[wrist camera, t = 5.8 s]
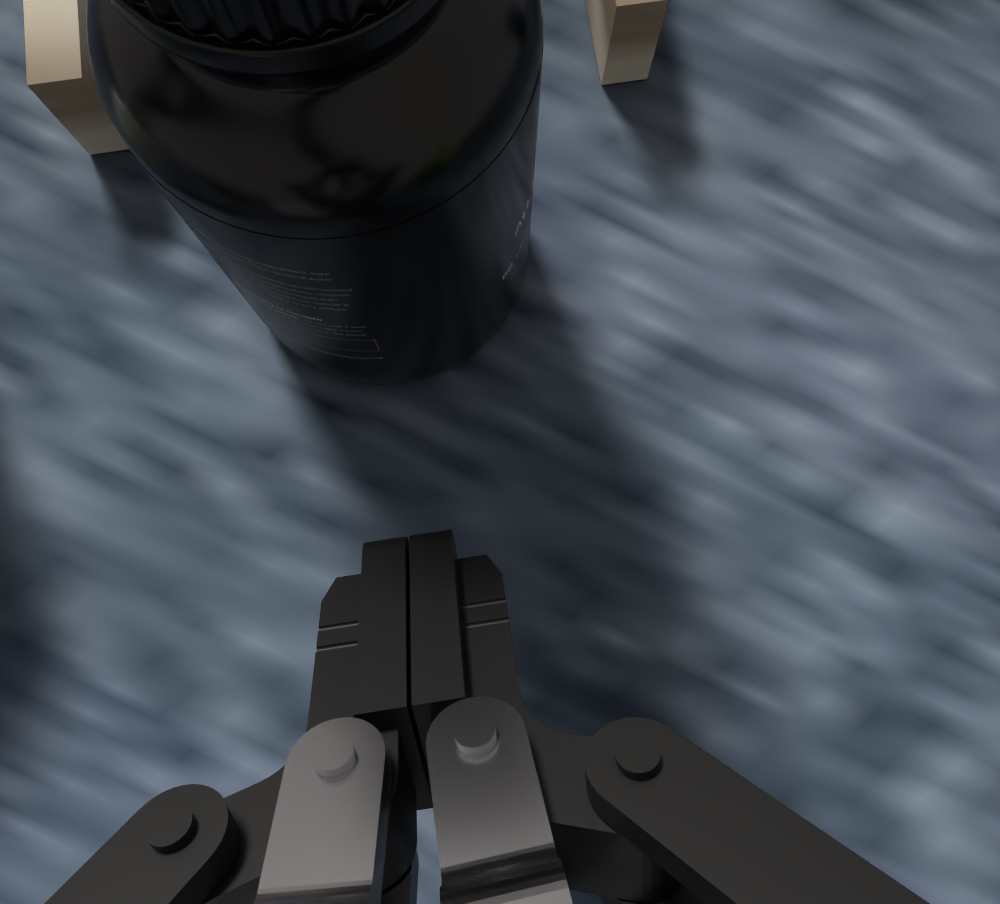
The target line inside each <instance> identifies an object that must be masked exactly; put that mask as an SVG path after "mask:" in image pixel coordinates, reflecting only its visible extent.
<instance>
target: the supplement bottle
mask: <svg viewBox="0 0 1000 904" xmlns="http://www.w3.org/2000/svg"><path fill="white" fill-rule="evenodd" d="M86 29H87V42H88V52H89V59H90V64H91V68H92V73H93V77H94V80H95V83H96V86H97V89H98V92H99V95H100V97H101V100H102V103H103V105H104V107H105V109H106V111H107V113H108V115H109V117H110V119H111V121H112V123H113V124H114V126H115V128H116V129H117V131H118V132H119V134H120V135H121V137H122V139H123V140H124V142H125V143H126V145H127V146H128V148H129V149H130V151H131V153H132V154H133V156H134V157H135V158H136V160H137V161H138V162H139V163H140V165H141V166H142V167H143V169H144V170H145V171H146V173H147V174H148V175H149V176H150V178H151V179H152V180H153V182H154V183H155V184H156V185H157V187H158V188H159V189H160V190H161V192H162V193H163V194H164V196H165V197H166V198H167V199H168V201H169V202H170V203H171V205H172V206H173V207H174V208H175V210H176V211H177V212H178V214H179V215H180V216H181V217H182V219H183V220H184V221H185V223H186V224H187V225H188V226H189V228H190V229H191V230H192V232H193V233H194V234H195V235H196V237H197V238H198V239H199V240H200V242H201V243H202V244H203V246H204V247H205V248H206V249H207V251H208V252H209V253H210V255H211V256H212V257H213V258H214V260H215V261H216V262H217V264H218V265H219V266H220V267H221V269H222V270H223V271H224V273H225V274H226V275H227V276H228V278H229V279H230V280H231V282H232V283H233V284H234V285H235V287H236V288H237V289H238V290H239V292H240V293H241V294H242V296H243V297H244V298H245V299H246V301H247V302H248V303H249V305H250V306H251V307H252V308H253V310H254V311H255V312H256V313H257V315H258V316H259V317H260V318H261V320H262V321H263V322H264V323H265V324H266V325H267V327H268V328H269V329H270V330H271V332H272V333H273V334H274V335H275V336H276V337H277V338H278V339H279V340H280V341H281V342H282V343H283V344H284V345H285V346H286V347H287V348H288V349H289V350H290V351H292V352H293V353H294V354H295V355H297V356H298V357H299V358H300V359H302V360H304V361H305V362H307V363H308V364H310V365H311V366H313V367H315V368H317V369H319V370H321V371H323V372H325V373H328V374H330V375H333V376H335V377H339V378H342V379H346V380H349V381H354V382H360V383H368V384H400V383H408V382H413V381H418V380H422V379H425V378H429V377H432V376H435V375H437V374H440V373H442V372H445V371H447V370H449V369H451V368H453V367H455V366H457V365H458V364H460V363H461V362H463V361H465V360H466V359H468V358H469V357H471V356H472V355H473V354H474V353H476V352H477V351H478V350H479V349H481V348H482V347H483V346H484V345H485V344H486V343H487V342H488V341H489V340H490V339H491V338H492V337H493V336H494V335H495V333H496V332H497V331H498V330H499V329H500V327H501V326H502V324H503V323H504V322H505V320H506V319H507V317H508V315H509V314H510V312H511V310H512V308H513V306H514V304H515V302H516V299H517V297H518V295H519V292H520V289H521V285H522V282H523V279H524V274H525V269H526V263H527V254H528V246H529V235H530V222H531V208H532V195H533V181H534V168H535V154H536V141H537V127H538V113H539V100H540V86H541V72H542V59H543V5H542V0H87V20H86Z"/></svg>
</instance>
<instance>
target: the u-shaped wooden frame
mask: <svg viewBox="0 0 1000 904" xmlns="http://www.w3.org/2000/svg"><path fill="white" fill-rule="evenodd" d="M668 2H669V0H585V3H586V8H587V13H588V18H589V23H590V28H591V33H592V39H593V44H594V49H595V54H596V59H597V64H598V69H599V74H600V80H601V85H606V84H613V83H621V82H628V81H635V80H643V79H647V78H648V74H649V71H650V67H651V63H652V60H653V56H654V52H655V49H656V45H657V42H658V38H659V34H660V31H661V27H662V24H663V20H664V16H665V13H666V9H667V5H668ZM23 5H24V27H25V49H26V71H27V85H28V87H29V88H30V89H31V90H32V91H33V92H34V93H35V94H36V95H37V97H38V98H39V99H40V100H41V101H42V102H43V103H44V104H45V105H46V107H47V108H48V109H49V110H50V111H51V112H52V113H53V114H54V115H55V117H56V118H57V119H58V120H59V121H60V122H61V123H62V124H63V125H64V127H65V128H66V129H67V130H68V131H69V132H70V133H71V134H72V135H73V137H74V138H75V139H76V140H77V141H78V142H79V143H80V144H81V145H82V147H83V148H84V149H85V150H86V151H87V152H88V153H89V154H90V155H91V154H98V153H106V152H113V151H121V150H128V149H129V148H128V146H127V145H126V143H125V142H124V140H123V139H122V137H121V135H120V134H119V132H118V131H117V129H116V128H115V126H114V124H113V123H112V121H111V119H110V117H109V115H108V113H107V111H106V109H105V107H104V105H103V103H102V100H101V97H100V95H99V92H98V89H97V86H96V83H95V80H94V77H93V73H92V68H91V64H90V59H89V52H88V42H87V29H86V20H87V0H23Z"/></svg>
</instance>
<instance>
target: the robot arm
mask: <svg viewBox="0 0 1000 904" xmlns="http://www.w3.org/2000/svg"><path fill="white" fill-rule="evenodd" d="M428 808H433V809H434V818H435V826H436V834H437V843H438V851H439V859H440V867H441V877H442V886H440V903H441V904H573V903H572V899H571V895H570V891H569V889H572V890H577V891H582V892H588V893H593V894H598V895H599V896H600V898H601V899H602V901H603V902H604V904H929V903H928V902H927V901H925V900H924V899H922V898H921V897H919V896H918V895H916V894H915V893H913V892H912V891H910V890H909V889H907V888H906V887H904V886H903V885H901V884H900V883H899V882H897V881H896V880H894V879H893V878H891V877H890V876H888V875H887V874H885V873H884V872H882V871H881V870H879V869H878V868H876V867H875V866H873V865H872V864H870V863H869V862H868V861H866V860H865V859H863V858H862V857H860V856H859V855H857V854H856V853H854V852H853V851H851V850H850V849H848V848H847V847H845V846H844V845H842V844H841V843H840V842H838V841H837V840H835V839H834V838H832V837H831V836H829V835H828V834H826V833H825V832H823V831H822V830H820V829H819V828H817V827H816V826H814V825H813V824H811V823H810V822H809V821H807V820H806V819H804V818H803V817H801V816H800V815H798V814H797V813H795V812H794V811H792V810H791V809H789V808H788V807H786V806H785V805H783V804H782V803H781V802H779V801H778V800H776V799H775V798H773V797H772V796H770V795H769V794H767V793H766V792H764V791H763V790H761V789H760V788H758V787H757V786H755V785H754V784H752V783H751V782H750V781H748V780H747V779H745V778H744V777H742V776H741V775H739V774H738V773H736V772H735V771H733V770H732V769H730V768H729V767H727V766H726V765H724V764H723V763H722V762H720V761H719V760H717V759H716V758H714V757H713V756H711V755H710V754H708V753H707V752H705V751H704V750H702V749H701V748H699V747H698V746H696V745H695V744H693V743H692V742H691V741H689V740H688V739H686V738H685V737H683V736H682V735H680V734H679V733H677V732H676V731H674V730H673V729H671V728H670V727H668V726H666V725H665V724H663V723H661V722H658V721H656V720H652V719H648V718H642V717H627V718H622V719H618V720H615V721H612V722H610V723H608V724H606V725H605V726H603V727H602V728H601V729H599V730H598V731H597V732H596V733H595V734H594V736H593V737H592V736H585V735H578V734H571V733H566V732H561V731H557V730H555V729H552V728H550V727H548V726H546V725H544V724H542V723H541V722H539V721H538V720H537V719H535V718H534V717H533V716H532V715H531V714H530V713H529V711H528V710H527V708H526V707H525V705H524V703H523V701H522V698H521V694H520V689H519V683H518V676H517V670H516V663H515V657H514V650H513V644H512V637H511V631H510V624H509V618H508V611H507V605H506V598H505V592H504V585H503V579H502V574H501V572H500V571H499V570H498V569H497V567H496V566H495V565H494V564H493V562H492V561H491V560H490V559H489V558H488V556H487V555H482V556H475V557H468V558H462V559H458V558H457V552H456V547H455V542H454V536H453V532H452V529H451V530H445V531H438V532H431V533H425V534H418V535H411V536H410V537H409V540H408V538H407V537H399V538H393V539H386V540H379V541H373V542H366V543H364V545H363V554H362V571H361V574H358V575H351V576H344V577H338V578H336V579H335V581H334V582H333V584H332V586H331V587H330V589H329V590H328V592H327V594H326V595H325V597H324V598H323V600H322V602H321V611H320V620H319V631H318V638H317V652H316V655H315V664H314V673H313V682H312V691H311V699H310V708H309V717H308V726H307V731H306V733H305V734H304V735H302V737H301V738H300V739H299V740H298V741H297V742H296V743H295V745H294V746H293V747H292V749H291V751H290V753H289V755H288V757H287V760H286V763H285V766H283V767H282V768H281V769H280V770H279V771H277V772H276V773H274V774H273V775H271V776H270V777H268V778H266V779H265V780H263V781H261V782H259V783H257V784H254V785H252V786H250V787H248V788H246V789H243V790H241V791H239V792H237V793H235V794H232V795H230V796H228V797H226V798H224V799H223V797H222V796H221V795H220V794H219V793H218V792H217V791H216V790H214V789H212V788H210V787H208V786H204V785H198V784H190V785H182V786H178V787H175V788H172V789H170V790H167V791H165V792H163V793H161V794H159V795H157V796H156V797H154V798H153V799H151V800H150V801H149V802H147V803H146V804H145V805H144V806H143V807H142V808H141V809H139V810H138V811H137V812H136V813H135V814H134V815H133V816H132V817H131V818H130V819H129V820H128V821H127V822H126V823H125V824H124V825H123V826H122V827H121V828H120V829H119V830H118V831H117V832H116V833H115V834H114V835H113V836H112V837H111V838H110V839H109V840H108V841H107V842H106V843H105V844H104V845H103V846H102V847H101V848H100V849H99V850H98V851H97V852H96V853H95V854H94V855H93V856H92V857H91V858H90V859H89V860H88V861H87V862H86V863H85V864H84V865H83V866H82V867H81V868H80V869H79V870H78V871H77V872H76V873H75V874H74V875H73V876H72V877H71V878H70V879H69V880H68V881H67V882H66V883H65V884H64V885H63V886H62V887H61V888H60V889H59V890H58V891H57V892H56V893H55V894H54V895H53V896H52V897H51V898H50V899H49V900H48V901H46V902H45V903H44V904H417V886H418V868H419V859H418V853H417V849H416V848H417V812H416V810H421V809H428Z"/></svg>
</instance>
